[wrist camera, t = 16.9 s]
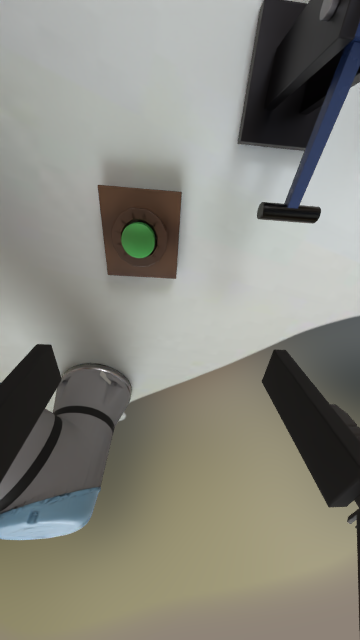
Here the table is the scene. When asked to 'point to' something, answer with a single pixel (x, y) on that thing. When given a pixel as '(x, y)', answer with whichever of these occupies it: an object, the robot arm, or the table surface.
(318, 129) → the lever
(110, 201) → the switch block
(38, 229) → the table surface
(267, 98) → the lever bracket
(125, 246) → the green button
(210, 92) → the table surface
